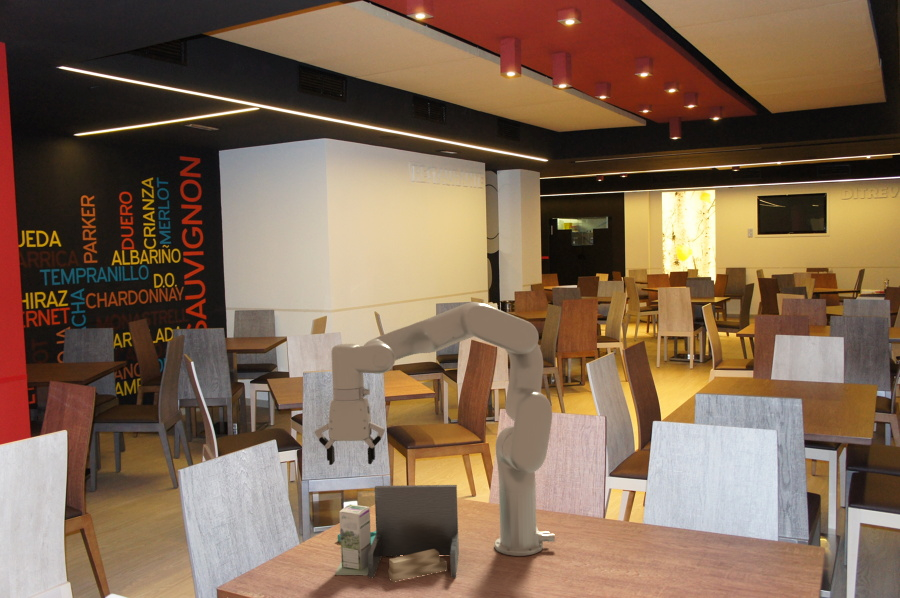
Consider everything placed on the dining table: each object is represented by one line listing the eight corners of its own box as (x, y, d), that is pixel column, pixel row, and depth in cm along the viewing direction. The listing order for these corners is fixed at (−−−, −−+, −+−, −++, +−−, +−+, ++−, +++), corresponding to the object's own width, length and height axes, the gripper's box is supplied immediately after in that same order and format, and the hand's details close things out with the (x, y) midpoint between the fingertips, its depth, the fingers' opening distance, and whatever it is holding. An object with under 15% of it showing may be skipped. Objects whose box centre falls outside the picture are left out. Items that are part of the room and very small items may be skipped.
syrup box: (372, 562, 188) (370, 505, 187) (360, 571, 182) (358, 513, 182) (353, 559, 190) (351, 503, 189) (340, 568, 185) (338, 510, 184)
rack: (458, 553, 193) (456, 484, 192) (456, 577, 178) (453, 503, 177) (378, 554, 194) (375, 485, 193) (368, 578, 180) (365, 504, 179)
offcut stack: (441, 567, 185) (441, 547, 185) (447, 572, 182) (446, 552, 182) (388, 578, 179) (387, 558, 179) (393, 584, 176) (392, 563, 176)
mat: (374, 558, 191) (374, 557, 191) (367, 575, 181) (367, 573, 181) (343, 559, 192) (343, 557, 192) (334, 575, 182) (334, 574, 182)
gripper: (385, 391, 187) (388, 458, 188) (317, 392, 188) (320, 459, 189) (381, 396, 180) (383, 466, 181) (310, 398, 181) (313, 468, 182)
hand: (351, 463), depth 185 cm, fingers open, 9 cm apart
